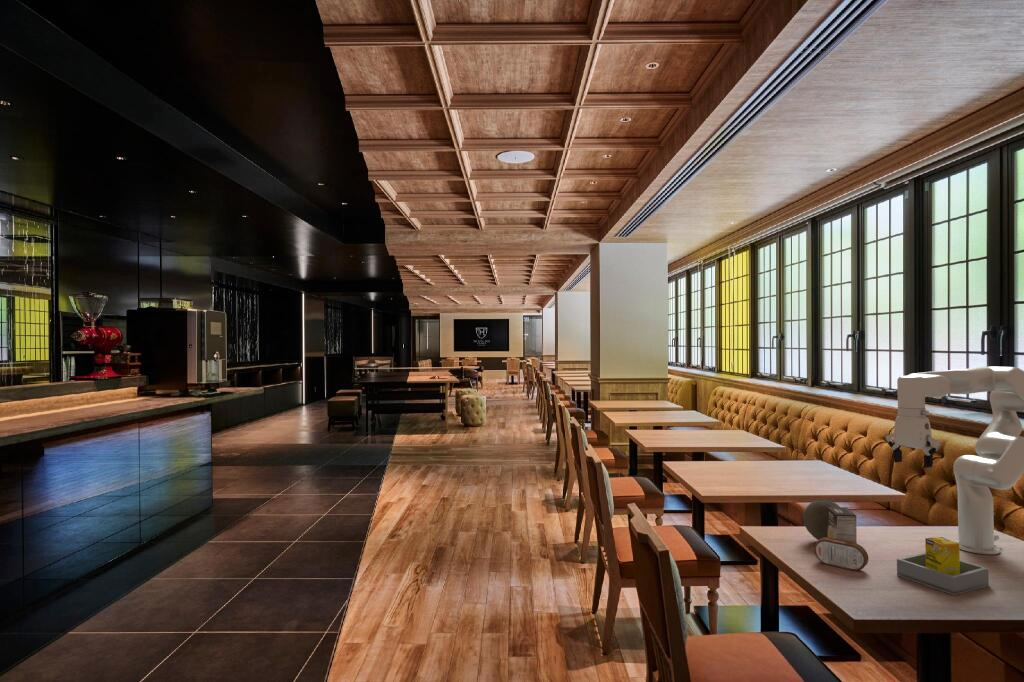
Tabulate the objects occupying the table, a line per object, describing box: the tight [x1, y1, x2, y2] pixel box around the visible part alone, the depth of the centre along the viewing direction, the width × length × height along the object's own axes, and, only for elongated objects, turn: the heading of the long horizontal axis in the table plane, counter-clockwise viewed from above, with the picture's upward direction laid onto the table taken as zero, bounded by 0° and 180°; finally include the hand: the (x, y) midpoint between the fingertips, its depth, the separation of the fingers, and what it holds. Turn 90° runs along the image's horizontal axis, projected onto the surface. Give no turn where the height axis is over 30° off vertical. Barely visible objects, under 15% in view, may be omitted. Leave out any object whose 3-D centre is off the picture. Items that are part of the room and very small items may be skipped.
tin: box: [813, 537, 869, 572], centre depth 186 cm, size 15×3×8 cm, turn 47°
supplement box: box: [924, 536, 961, 576], centre depth 174 cm, size 6×6×11 cm
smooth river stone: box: [802, 499, 841, 541], centre depth 208 cm, size 14×14×15 cm
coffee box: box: [827, 506, 858, 544], centre depth 192 cm, size 9×6×16 cm
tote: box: [896, 551, 990, 596], centre depth 174 cm, size 16×16×5 cm
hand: (912, 464), depth 195 cm, fingers open, 9 cm apart
